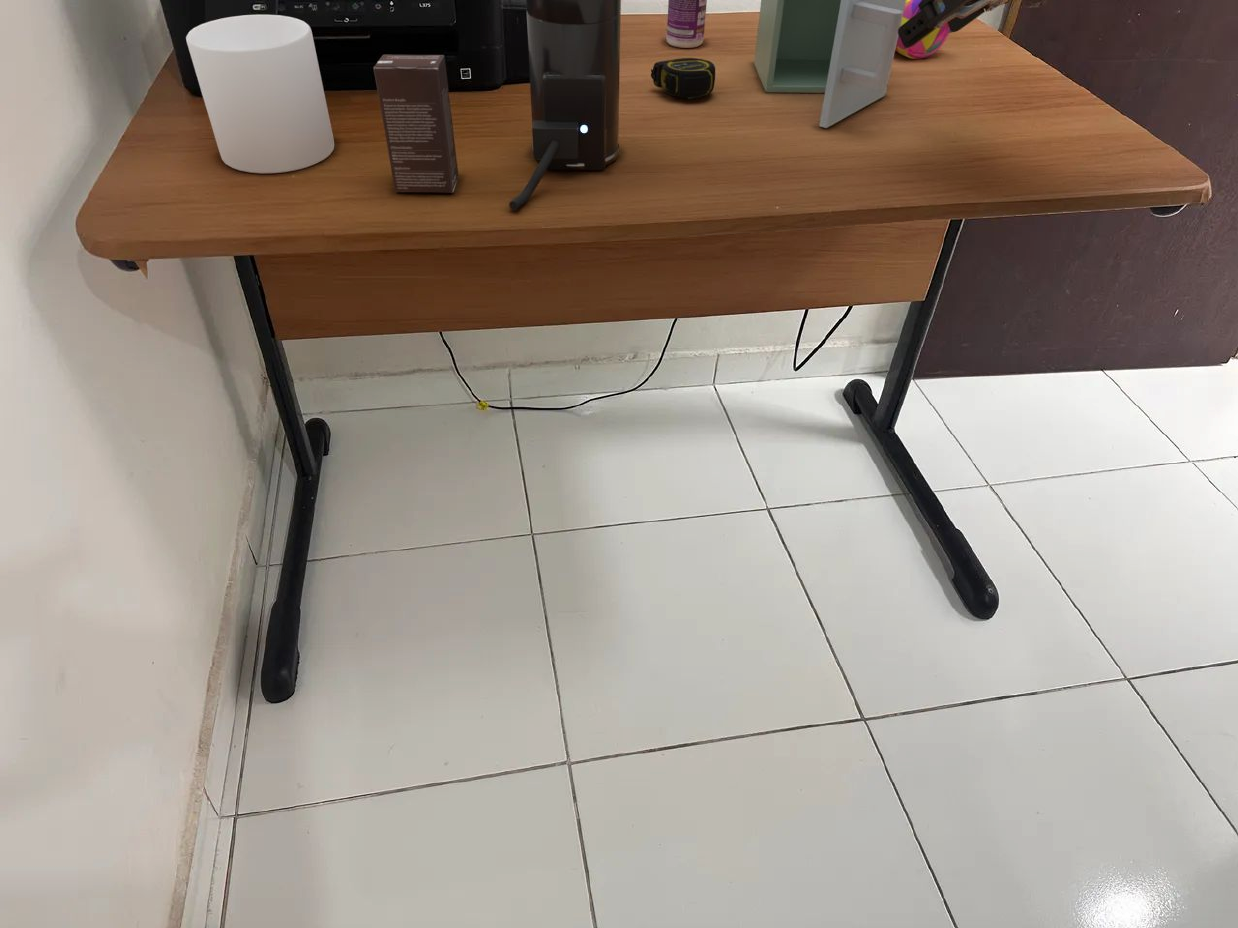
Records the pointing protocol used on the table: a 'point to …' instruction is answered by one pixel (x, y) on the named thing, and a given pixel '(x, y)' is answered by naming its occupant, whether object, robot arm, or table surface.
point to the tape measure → (684, 77)
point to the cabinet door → (861, 56)
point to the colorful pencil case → (927, 43)
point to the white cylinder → (262, 92)
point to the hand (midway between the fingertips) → (926, 31)
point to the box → (417, 122)
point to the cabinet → (795, 44)
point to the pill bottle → (686, 23)
